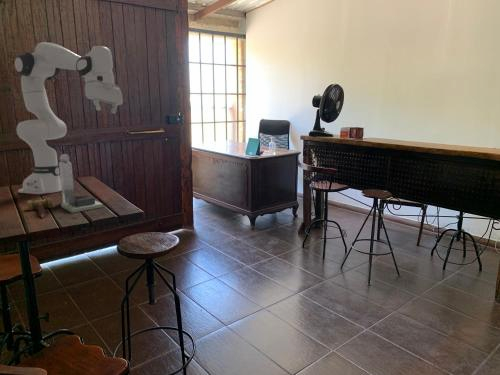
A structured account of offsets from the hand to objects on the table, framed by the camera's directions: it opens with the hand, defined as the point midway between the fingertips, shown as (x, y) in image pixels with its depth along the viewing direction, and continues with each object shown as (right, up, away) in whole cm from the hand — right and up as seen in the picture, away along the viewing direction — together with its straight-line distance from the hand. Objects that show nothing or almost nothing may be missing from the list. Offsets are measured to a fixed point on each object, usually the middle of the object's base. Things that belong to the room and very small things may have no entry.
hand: (106, 111), depth 176 cm
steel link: (-22, -42, +11) cm, 49 cm away
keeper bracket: (-13, -44, +4) cm, 46 cm away
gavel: (-27, -47, -5) cm, 54 cm away
